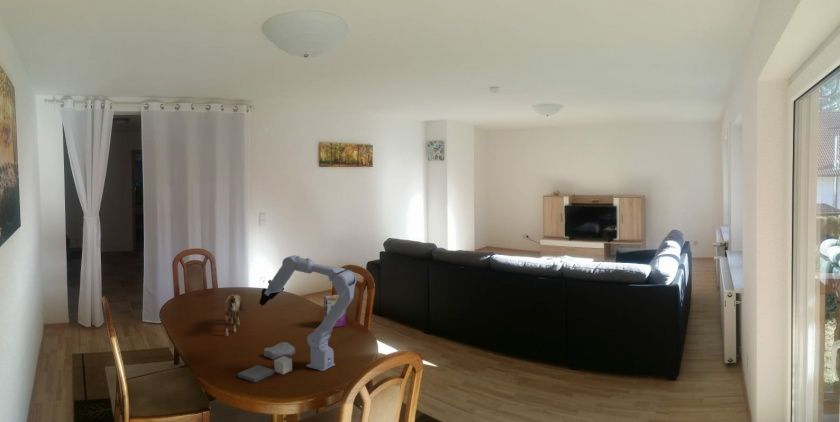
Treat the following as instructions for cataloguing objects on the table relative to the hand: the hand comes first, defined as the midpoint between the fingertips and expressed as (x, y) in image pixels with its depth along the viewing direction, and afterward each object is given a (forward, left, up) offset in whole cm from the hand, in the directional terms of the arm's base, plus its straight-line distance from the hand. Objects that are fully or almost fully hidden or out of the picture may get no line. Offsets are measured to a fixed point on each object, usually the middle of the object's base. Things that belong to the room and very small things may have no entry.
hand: (265, 301), depth 226 cm
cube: (-17, +6, -26) cm, 31 cm away
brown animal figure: (+43, -21, -26) cm, 54 cm away
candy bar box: (+3, -50, -26) cm, 56 cm away
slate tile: (-11, +15, -26) cm, 32 cm away
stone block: (-2, -6, -26) cm, 27 cm away
